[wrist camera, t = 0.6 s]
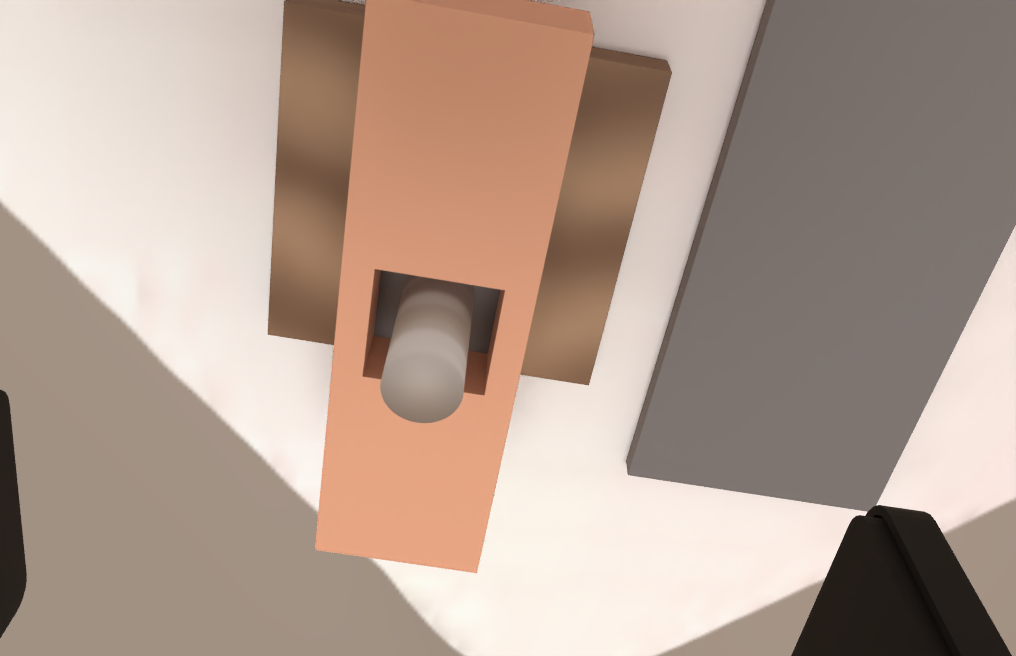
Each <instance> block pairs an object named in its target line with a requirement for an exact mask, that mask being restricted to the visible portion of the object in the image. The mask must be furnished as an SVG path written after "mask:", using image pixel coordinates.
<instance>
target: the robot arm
mask: <svg viewBox="0 0 1016 656" xmlns="http://www.w3.org/2000/svg"><path fill="white" fill-rule="evenodd" d="M26 581H27V580H26V564H25V554H24V544H23V534H22V524H21V515H20V504H19V494H18V485H17V474H16V464H15V454H14V444H13V434H12V424H11V414H10V404H9V399H8V396H7V394H6V392H4V391H2V390H0V638H1V636H2V634H3V633H4V631H5V630H6V628H7V626H8V625H9V623H10V622H11V620H12V618H13V617H14V615H15V614H16V612H17V610H18V608H19V606H20V604H21V601H22V598H23V595H24V591H25V588H26ZM791 656H1012V655H1011V654H1010V652H1009V650H1008V648H1007V646H1006V645H1005V643H1004V641H1003V639H1002V638H1001V636H1000V634H999V632H998V631H997V629H996V627H995V625H994V623H993V622H992V620H991V618H990V616H989V615H988V613H987V611H986V609H985V608H984V606H983V604H982V602H981V601H980V599H979V597H978V595H977V593H976V592H975V590H974V588H973V586H972V585H971V583H970V581H969V579H968V578H967V576H966V574H965V572H964V571H963V569H962V567H961V565H960V564H959V562H958V560H957V558H956V556H955V555H954V553H953V551H952V550H951V548H950V546H949V544H948V542H947V541H946V539H945V537H944V535H943V534H942V532H941V530H940V528H939V526H938V525H937V523H936V521H935V520H934V519H933V517H932V516H931V515H930V514H928V513H926V512H922V511H916V510H909V509H902V508H895V507H888V506H882V505H878V506H873V507H872V508H871V509H870V510H869V511H868V512H867V514H866V516H861V515H859V516H856V517H854V518H853V519H852V521H851V522H850V524H849V526H848V528H847V531H846V533H845V535H844V538H843V540H842V542H841V544H840V547H839V549H838V551H837V553H836V556H835V558H834V560H833V562H832V565H831V567H830V569H829V572H828V574H827V576H826V578H825V581H824V583H823V585H822V587H821V590H820V592H819V594H818V596H817V599H816V601H815V603H814V606H813V608H812V610H811V612H810V615H809V617H808V619H807V622H806V624H805V626H804V629H803V631H802V633H801V635H800V637H799V640H798V642H797V644H796V646H795V649H794V651H793V653H792V655H791Z"/></svg>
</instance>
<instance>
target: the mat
mask: <svg viewBox="0 0 1016 656" xmlns="http://www.w3.org/2000/svg"><path fill="white" fill-rule="evenodd" d="M1015 225H1016V0H767V3H766V6H765V10H764V13H763V16H762V20H761V23H760V26H759V29H758V33H757V36H756V39H755V42H754V46H753V49H752V52H751V55H750V59H749V62H748V65H747V69H746V72H745V75H744V78H743V82H742V85H741V88H740V91H739V95H738V98H737V101H736V104H735V108H734V111H733V114H732V118H731V121H730V124H729V127H728V131H727V134H726V137H725V140H724V144H723V147H722V150H721V153H720V157H719V160H718V163H717V167H716V170H715V173H714V176H713V180H712V183H711V186H710V189H709V193H708V196H707V199H706V202H705V206H704V209H703V212H702V215H701V219H700V222H699V225H698V229H697V232H696V235H695V238H694V242H693V245H692V248H691V251H690V255H689V258H688V261H687V264H686V268H685V271H684V274H683V278H682V281H681V284H680V287H679V291H678V294H677V297H676V300H675V304H674V307H673V310H672V313H671V317H670V320H669V323H668V327H667V330H666V333H665V336H664V340H663V343H662V346H661V349H660V353H659V356H658V359H657V362H656V366H655V369H654V372H653V376H652V379H651V382H650V385H649V389H648V392H647V395H646V398H645V402H644V405H643V408H642V411H641V415H640V418H639V421H638V425H637V428H636V431H635V434H634V438H633V441H632V444H631V447H630V451H629V454H628V457H627V460H626V464H627V472H628V475H632V476H638V477H645V478H651V479H658V480H664V481H671V482H678V483H684V484H691V485H697V486H704V487H710V488H717V489H724V490H730V491H737V492H743V493H750V494H756V495H763V496H770V497H776V498H783V499H789V500H796V501H802V502H809V503H816V504H822V505H829V506H835V507H842V508H848V509H855V510H861V511H869V510H870V509H871V508H872V507H873V506H876V504H877V502H878V500H879V498H880V496H881V494H882V492H883V490H884V488H885V486H886V484H887V482H888V480H889V478H890V476H891V474H892V472H893V470H894V468H895V466H896V464H897V462H898V460H899V458H900V456H901V454H902V452H903V450H904V448H905V446H906V444H907V442H908V440H909V438H910V436H911V434H912V432H913V430H914V428H915V426H916V424H917V422H918V420H919V418H920V416H921V414H922V412H923V410H924V408H925V406H926V404H927V402H928V400H929V398H930V396H931V394H932V392H933V390H934V388H935V386H936V384H937V382H938V380H939V378H940V376H941V374H942V372H943V370H944V368H945V366H946V364H947V362H948V360H949V358H950V356H951V354H952V352H953V350H954V348H955V346H956V344H957V341H958V339H959V337H960V335H961V333H962V331H963V329H964V327H965V325H966V323H967V321H968V319H969V317H970V315H971V313H972V311H973V309H974V307H975V305H976V303H977V301H978V299H979V297H980V295H981V293H982V291H983V289H984V287H985V285H986V283H987V281H988V279H989V277H990V275H991V273H992V271H993V269H994V267H995V265H996V263H997V261H998V259H999V257H1000V255H1001V253H1002V251H1003V249H1004V247H1005V245H1006V243H1007V241H1008V239H1009V237H1010V235H1011V233H1012V231H1013V229H1014V227H1015Z"/></svg>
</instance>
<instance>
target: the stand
mask: <svg viewBox="0 0 1016 656" xmlns="http://www.w3.org/2000/svg"><path fill="white" fill-rule="evenodd" d="M365 7H366V6H365V5H360V4H354V3H349V2H343V1H338V0H286V1H285V2H284V16H283V36H282V56H281V76H280V96H279V117H278V137H277V157H276V177H275V197H274V217H273V237H272V258H271V278H270V298H269V318H268V335H274V336H280V337H287V338H293V339H299V340H306V341H312V342H318V343H325V344H331V345H334V340H335V330H336V319H337V308H338V297H339V287H340V276H341V265H342V255H343V244H344V233H345V222H346V212H347V201H348V190H349V179H350V169H351V158H352V147H353V136H354V126H355V115H356V104H357V93H358V83H359V72H360V61H361V50H362V40H363V29H364V18H365ZM671 74H672V72H671V69H670V67H669V64H668V62H667V61H666V60H661V59H655V58H650V57H644V56H639V55H633V54H628V53H622V52H617V51H611V50H606V49H600V48H595V47H592V48H591V52H590V57H589V61H588V66H587V71H586V75H585V80H584V84H583V89H582V93H581V98H580V103H579V107H578V112H577V116H576V121H575V126H574V130H573V135H572V139H571V144H570V148H569V153H568V158H567V162H566V167H565V171H564V176H563V181H562V185H561V190H560V194H559V199H558V203H557V208H556V213H555V217H554V222H553V226H552V231H551V236H550V240H549V245H548V249H547V254H546V258H545V263H544V268H543V272H542V277H541V281H540V286H539V291H538V295H537V300H536V304H535V309H534V313H533V318H532V323H531V327H530V332H529V336H528V341H527V345H526V350H525V355H524V359H523V364H522V368H521V373H520V374H521V375H527V376H533V377H540V378H546V379H552V380H558V381H565V382H571V383H577V384H584V385H589V383H590V379H591V375H592V371H593V367H594V364H595V360H596V356H597V352H598V349H599V345H600V341H601V337H602V334H603V330H604V326H605V322H606V319H607V315H608V311H609V307H610V303H611V300H612V296H613V292H614V288H615V285H616V281H617V277H618V273H619V270H620V266H621V262H622V258H623V255H624V251H625V247H626V243H627V239H628V236H629V232H630V228H631V224H632V221H633V217H634V213H635V209H636V206H637V202H638V198H639V194H640V191H641V187H642V183H643V179H644V175H645V172H646V168H647V164H648V160H649V157H650V153H651V149H652V145H653V142H654V138H655V134H656V130H657V127H658V123H659V119H660V115H661V111H662V108H663V104H664V100H665V96H666V93H667V89H668V85H669V81H670V78H671ZM499 293H500V289H494V288H488V287H482V286H476V285H469V284H463V283H457V282H451V281H445V280H439V279H433V278H427V277H421V276H415V275H408V274H402V273H396V272H390V271H384V270H381V277H380V286H379V294H378V303H377V311H376V320H375V328H374V336H378V337H385V338H391V341H390V345H389V350H388V354H387V358H386V362H385V366H384V370H383V374H382V378H381V383H380V390H381V395H382V398H383V400H384V402H385V404H386V405H387V406H388V408H389V409H390V410H391V411H392V412H394V413H395V414H396V415H398V416H399V417H401V418H403V419H406V420H408V421H412V422H416V423H433V422H437V421H440V420H443V419H445V418H447V417H449V416H450V415H452V414H453V413H454V412H455V411H456V410H457V409H458V407H459V406H460V404H461V402H462V399H463V393H464V384H465V375H466V366H467V357H468V351H473V352H479V353H485V354H488V350H489V345H490V340H491V334H492V329H493V324H494V319H495V314H496V309H497V303H498V298H499Z"/></svg>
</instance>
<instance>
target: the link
mask: <svg viewBox="0 0 1016 656" xmlns="http://www.w3.org/2000/svg"><path fill="white" fill-rule="evenodd" d="M593 39H594V31H593V25H592V20H591V15H590V12H588V11H583V10H577V9H572V8H566V7H561V6H556V5H550V4H545V3H539V2H534V1H529V0H366V7H365V18H364V29H363V40H362V50H361V61H360V72H359V83H358V93H357V104H356V115H355V126H354V136H353V147H352V158H351V169H350V179H349V190H348V201H347V212H346V222H345V233H344V244H343V255H342V265H341V276H340V287H339V297H338V308H337V319H336V330H335V340H334V351H333V362H332V373H331V383H330V394H329V405H328V416H327V426H326V437H325V448H324V459H323V469H322V480H321V491H320V502H319V512H318V523H317V534H316V545H315V550H320V551H327V552H334V553H341V554H348V555H355V556H361V557H368V558H375V559H382V560H389V561H396V562H403V563H410V564H417V565H424V566H431V567H438V568H445V569H452V570H459V571H466V572H473V573H477V570H478V565H479V561H480V556H481V552H482V547H483V543H484V538H485V533H486V529H487V524H488V520H489V515H490V510H491V506H492V501H493V497H494V492H495V488H496V483H497V478H498V474H499V469H500V465H501V460H502V455H503V451H504V446H505V442H506V437H507V433H508V428H509V423H510V419H511V414H512V410H513V405H514V400H515V396H516V391H517V387H518V382H519V378H520V373H521V368H522V364H523V359H524V355H525V350H526V345H527V341H528V336H529V332H530V327H531V323H532V318H533V313H534V309H535V304H536V300H537V295H538V291H539V286H540V281H541V277H542V272H543V268H544V263H545V258H546V254H547V249H548V245H549V240H550V236H551V231H552V226H553V222H554V217H555V213H556V208H557V203H558V199H559V194H560V190H561V185H562V181H563V176H564V171H565V167H566V162H567V158H568V153H569V148H570V144H571V139H572V135H573V130H574V126H575V121H576V116H577V112H578V107H579V103H580V98H581V93H582V89H583V84H584V80H585V75H586V71H587V66H588V61H589V57H590V52H591V48H592V43H593ZM381 270H384V271H390V272H396V273H402V274H408V275H415V276H421V277H427V278H433V279H439V280H445V281H451V282H457V283H463V284H469V285H476V286H482V287H488V288H494V289H500V293H499V298H498V303H497V309H496V314H495V319H494V324H493V329H492V334H491V340H490V345H489V350H488V354H485V353H479V352H473V351H468V357H467V366H466V375H465V384H464V393H463V399H462V402H461V404H460V406H459V407H458V409H457V410H456V411H455V412H454V413H453V414H452V415H450V416H449V417H447V418H445V419H443V420H440V421H437V422H433V423H416V422H412V421H408V420H406V419H403V418H401V417H399V416H398V415H396V414H395V413H394V412H392V411H391V410H390V409H389V408H388V406H387V405H386V404H385V402H384V400H383V398H382V395H381V390H380V383H381V378H382V374H383V370H384V366H385V362H386V358H387V354H388V350H389V345H390V341H391V338H385V337H378V336H374V328H375V320H376V311H377V303H378V294H379V286H380V277H381Z"/></svg>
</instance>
